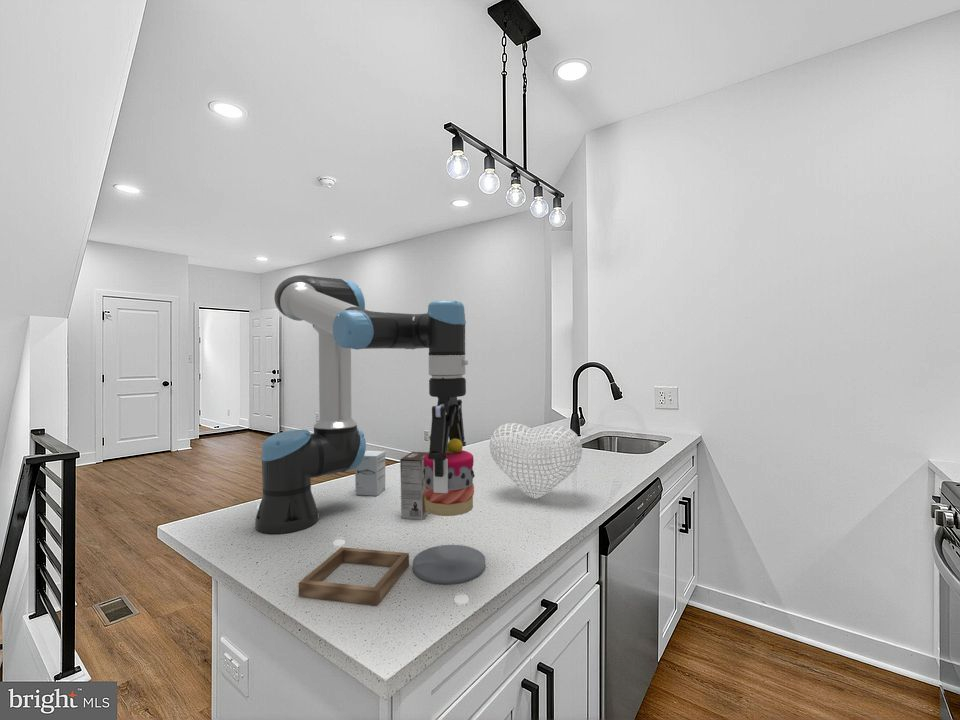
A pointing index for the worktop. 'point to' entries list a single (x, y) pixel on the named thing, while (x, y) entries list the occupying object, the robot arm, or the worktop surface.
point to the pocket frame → (354, 593)
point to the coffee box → (413, 486)
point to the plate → (448, 564)
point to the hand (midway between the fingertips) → (448, 484)
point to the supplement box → (370, 474)
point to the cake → (451, 483)
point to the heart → (537, 431)
